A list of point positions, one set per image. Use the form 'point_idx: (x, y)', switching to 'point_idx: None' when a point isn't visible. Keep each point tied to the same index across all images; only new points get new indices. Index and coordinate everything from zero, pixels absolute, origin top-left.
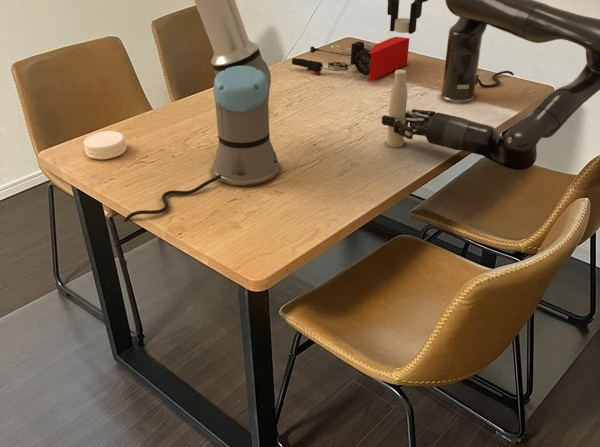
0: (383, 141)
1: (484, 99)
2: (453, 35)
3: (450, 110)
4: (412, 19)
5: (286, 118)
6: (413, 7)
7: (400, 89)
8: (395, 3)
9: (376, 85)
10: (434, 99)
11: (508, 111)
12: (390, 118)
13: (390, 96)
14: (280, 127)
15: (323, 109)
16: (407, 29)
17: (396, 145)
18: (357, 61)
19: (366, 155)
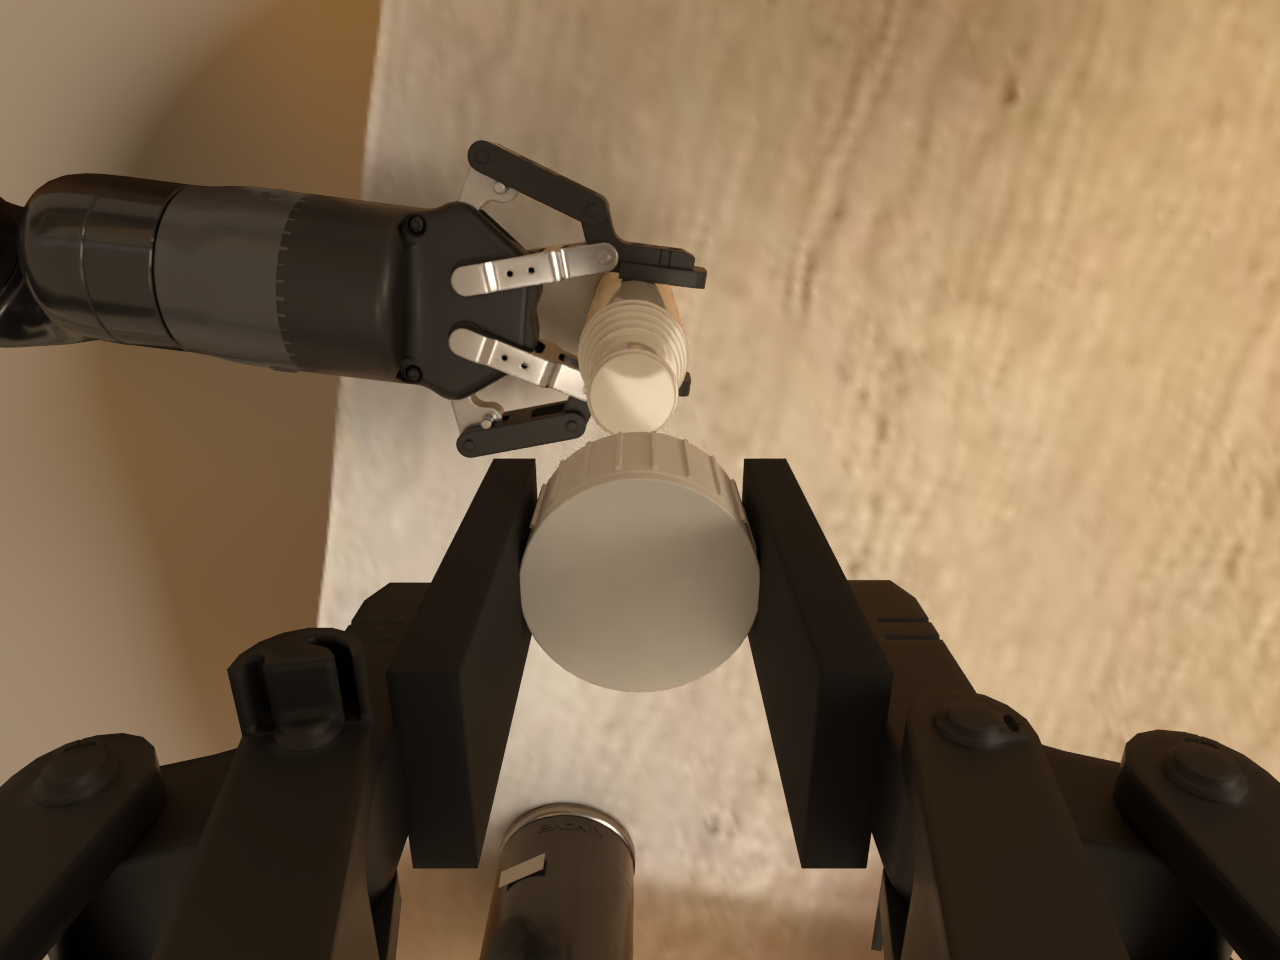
0: (695, 302)
1: (464, 879)
2: None
3: (545, 734)
4: (460, 532)
5: (1249, 337)
6: (411, 632)
7: (608, 323)
8: (811, 684)
9: None
10: (648, 807)
11: None
12: (651, 265)
13: (680, 323)
14: (1252, 217)
15: (1092, 517)
16: (552, 486)
17: None
18: None
19: (714, 103)
